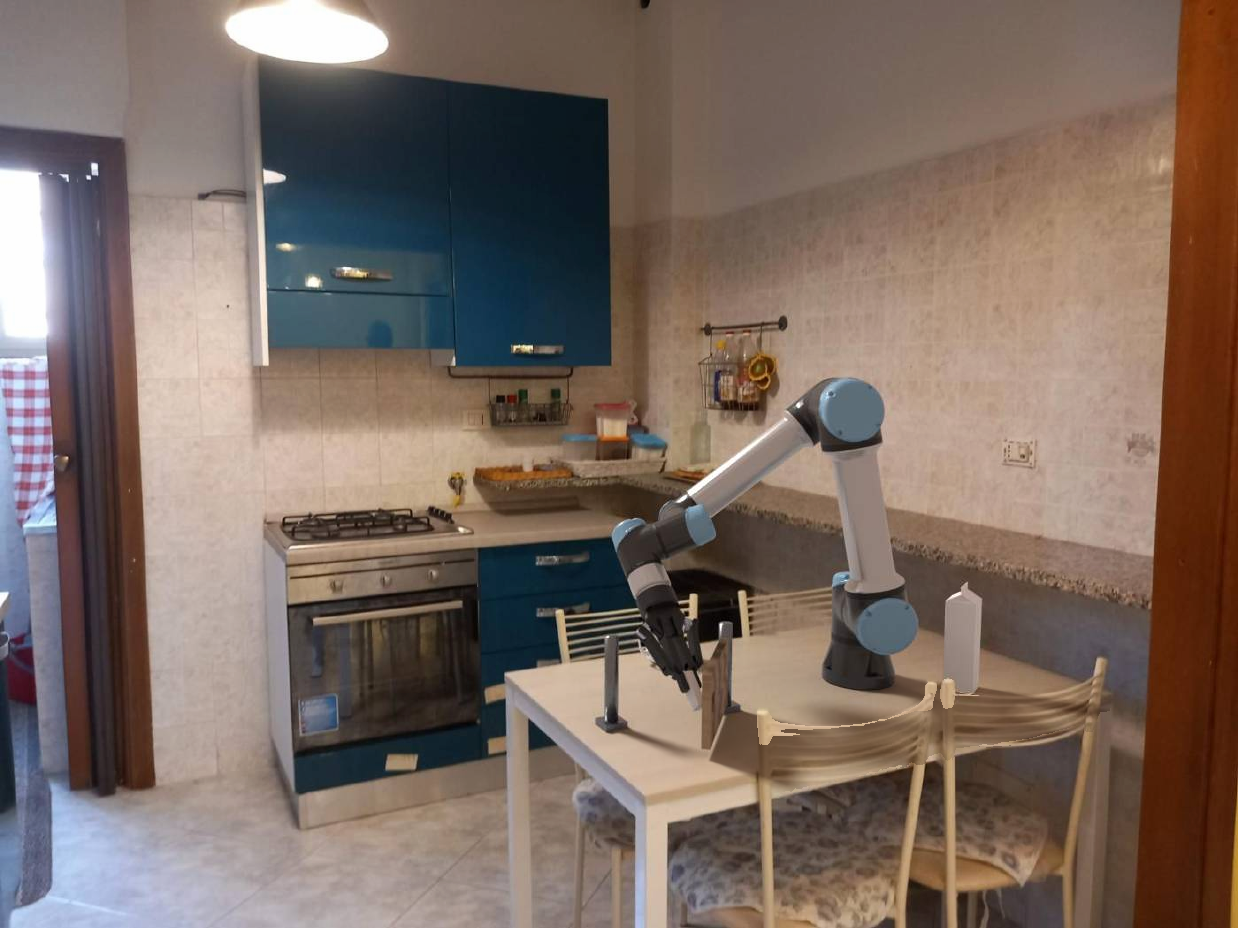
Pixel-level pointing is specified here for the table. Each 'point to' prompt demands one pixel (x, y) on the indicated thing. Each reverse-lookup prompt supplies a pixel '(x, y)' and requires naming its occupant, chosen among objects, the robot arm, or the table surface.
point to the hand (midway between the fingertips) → (699, 707)
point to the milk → (962, 640)
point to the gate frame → (611, 681)
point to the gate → (714, 693)
